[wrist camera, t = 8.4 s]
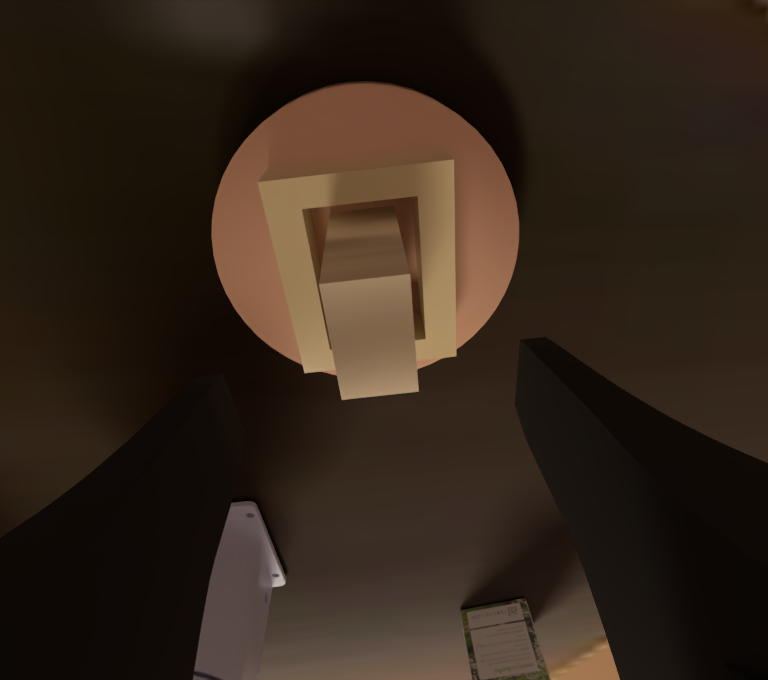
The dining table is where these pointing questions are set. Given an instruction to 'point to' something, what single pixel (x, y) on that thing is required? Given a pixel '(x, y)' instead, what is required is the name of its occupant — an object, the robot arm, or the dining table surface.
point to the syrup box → (503, 642)
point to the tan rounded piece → (362, 191)
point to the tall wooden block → (368, 304)
